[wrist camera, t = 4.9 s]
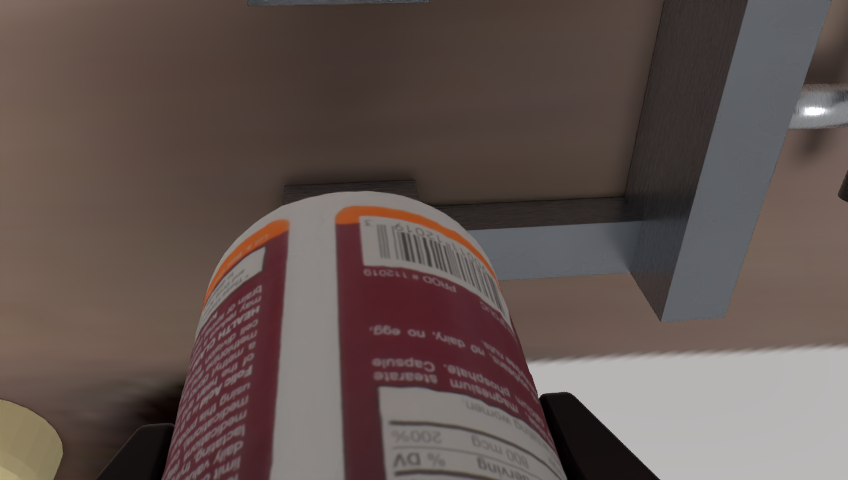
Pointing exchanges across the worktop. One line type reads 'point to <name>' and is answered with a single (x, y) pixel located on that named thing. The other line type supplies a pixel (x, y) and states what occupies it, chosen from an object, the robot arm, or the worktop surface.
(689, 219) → the vise
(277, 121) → the worktop surface
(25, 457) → the hook
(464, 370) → the pill bottle
